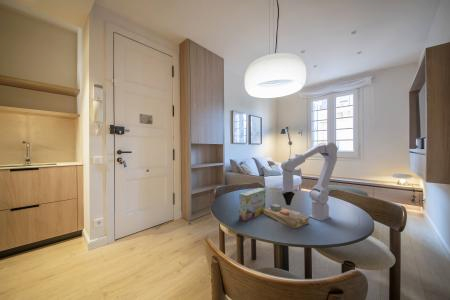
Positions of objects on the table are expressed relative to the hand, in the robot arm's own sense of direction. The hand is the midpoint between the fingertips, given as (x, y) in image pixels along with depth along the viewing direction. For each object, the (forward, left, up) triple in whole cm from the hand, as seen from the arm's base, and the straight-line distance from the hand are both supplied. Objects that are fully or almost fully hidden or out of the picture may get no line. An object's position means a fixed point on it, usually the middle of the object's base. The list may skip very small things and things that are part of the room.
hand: (288, 204), depth 101 cm
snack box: (+15, -14, -8) cm, 22 cm away
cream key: (+2, +6, -6) cm, 9 cm away
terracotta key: (+2, -1, -8) cm, 8 cm away
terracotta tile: (-7, -4, -8) cm, 11 cm away
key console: (+2, -1, -8) cm, 8 cm away
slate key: (+2, -8, -6) cm, 10 cm away
